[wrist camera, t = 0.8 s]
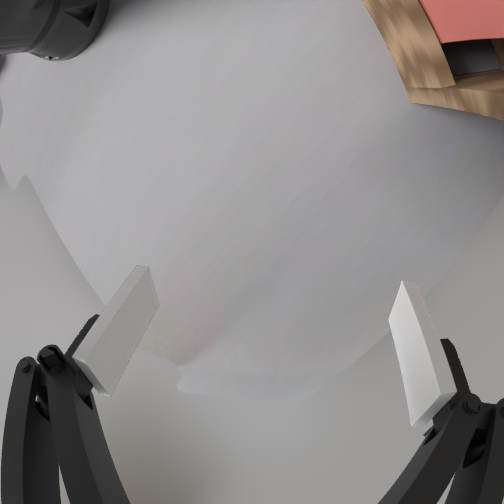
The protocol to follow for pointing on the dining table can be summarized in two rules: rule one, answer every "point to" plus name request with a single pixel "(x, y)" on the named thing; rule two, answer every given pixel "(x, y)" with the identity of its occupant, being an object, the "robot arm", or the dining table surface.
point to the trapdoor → (465, 19)
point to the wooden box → (435, 62)
